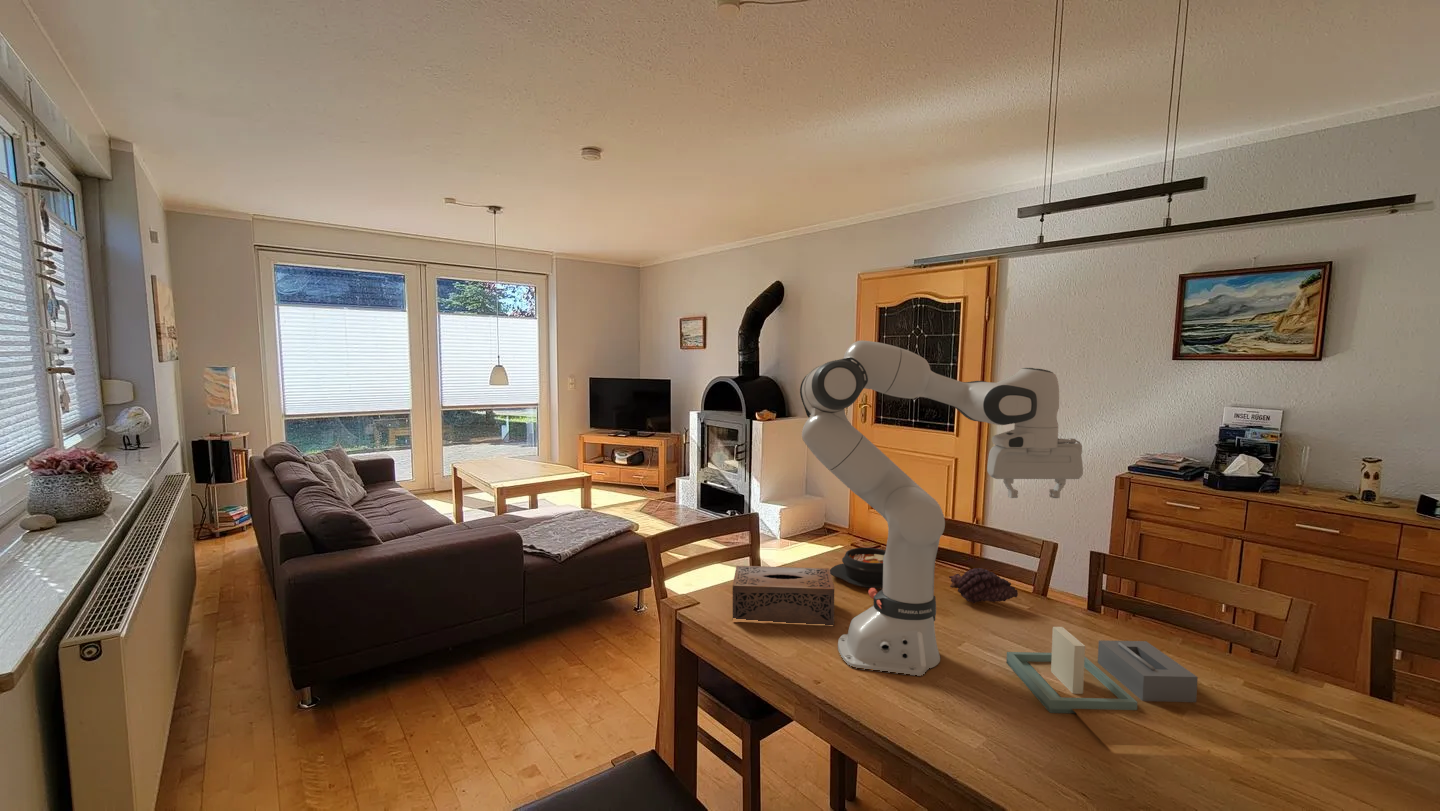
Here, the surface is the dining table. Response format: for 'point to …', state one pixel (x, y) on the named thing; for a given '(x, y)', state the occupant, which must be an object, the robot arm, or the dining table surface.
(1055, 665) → the cream flat slab
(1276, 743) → the dining table surface
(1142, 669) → the holder
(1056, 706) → the teal flat frame
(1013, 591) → the pine cone
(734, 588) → the tissue box cover
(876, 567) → the casserole
